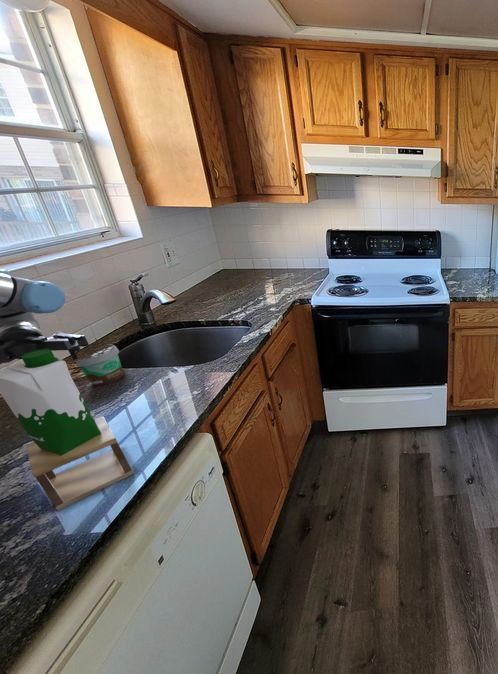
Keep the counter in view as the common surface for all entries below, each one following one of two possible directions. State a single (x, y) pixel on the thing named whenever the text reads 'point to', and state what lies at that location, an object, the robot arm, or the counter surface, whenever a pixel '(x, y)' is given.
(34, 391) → the soya milk
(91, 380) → the food container
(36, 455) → the rack
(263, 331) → the counter surface
